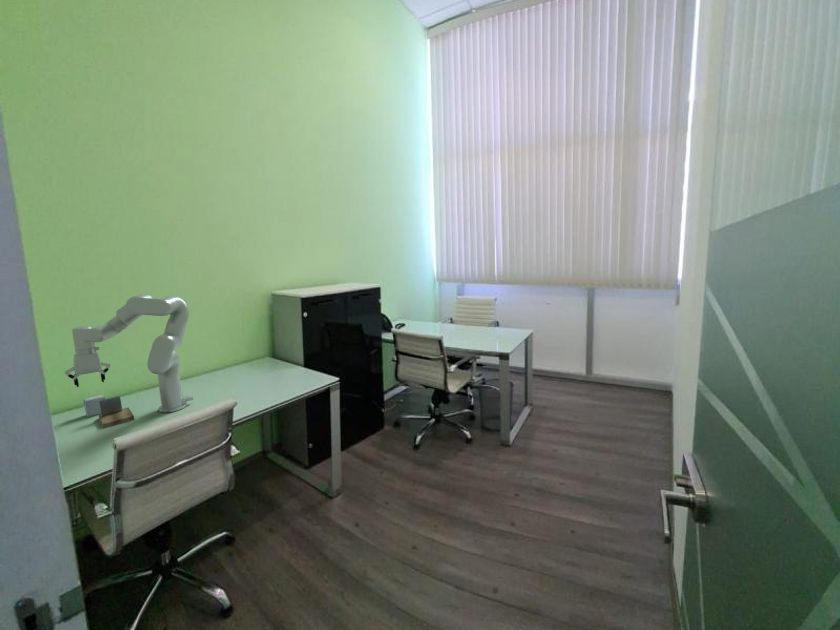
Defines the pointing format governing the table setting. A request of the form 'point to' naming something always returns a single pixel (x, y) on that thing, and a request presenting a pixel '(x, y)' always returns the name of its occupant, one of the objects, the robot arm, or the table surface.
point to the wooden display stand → (113, 412)
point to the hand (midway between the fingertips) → (90, 383)
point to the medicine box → (93, 405)
